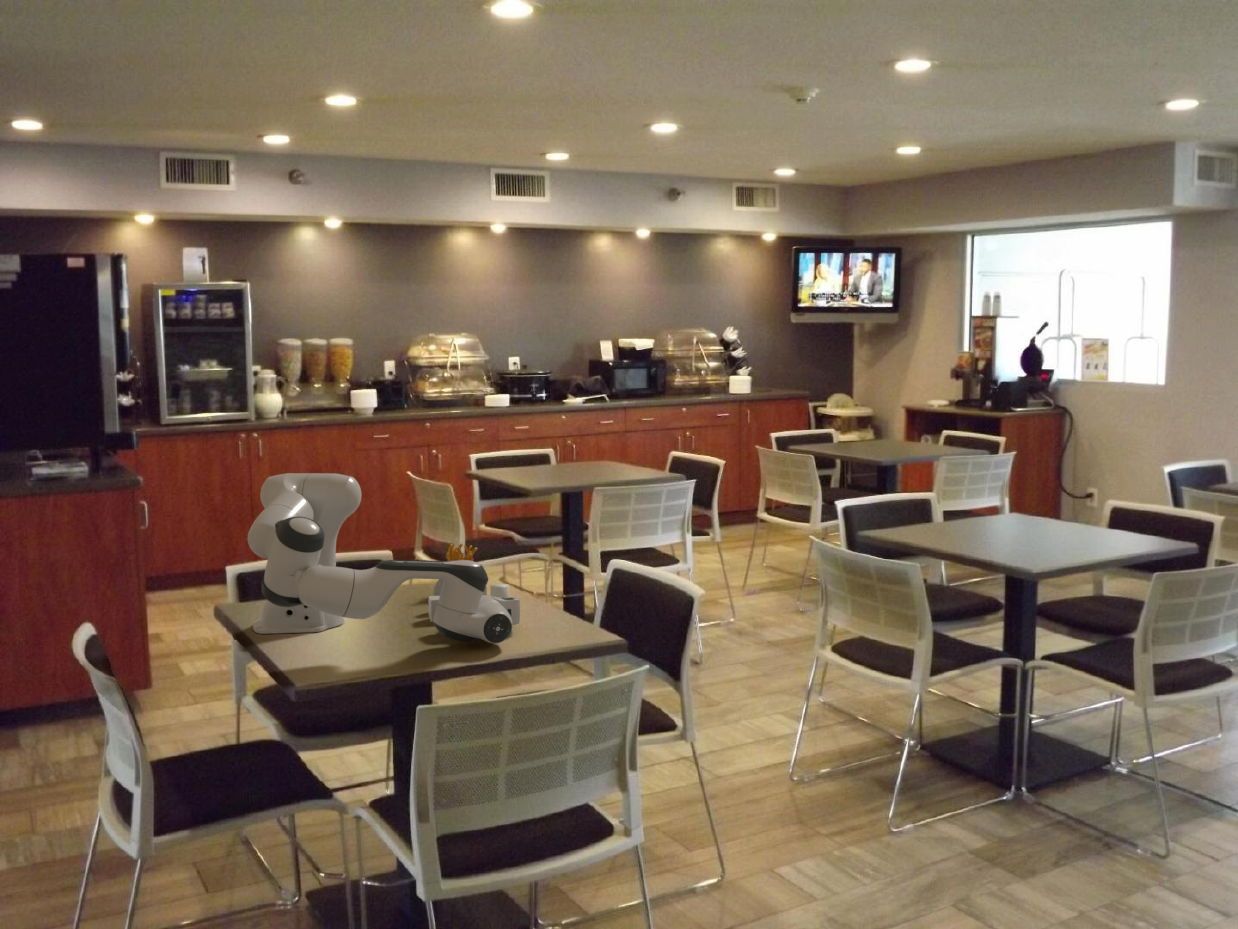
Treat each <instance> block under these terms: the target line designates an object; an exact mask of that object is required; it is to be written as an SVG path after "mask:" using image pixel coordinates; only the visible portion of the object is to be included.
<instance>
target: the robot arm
mask: <svg viewBox="0 0 1238 929" xmlns="http://www.w3.org/2000/svg"><path fill="white" fill-rule="evenodd" d="M259 493H260V502H261V504H262V506H263V508H264V509H263V510H262V511H261V512H260V513H259V514H258V515H257V516H256V518H255V519H254V521H253V523H252V524H251V527H250V529H249V530H248V532H247V544H248V546H249V549H250V550H251V552H252V553H254V555H257V556H258V557H260V558H262V559H267V561H266V565H265V570H264V575H263V576H262V578H261V593H262V596H264V598H265V599H266V600H265V602H264V604H263V607H262V610H261V616H260V618H259V619H256V620H254V622H253V624H252V630H253V631H254V632H255V633H257V634H263V635H264V634H265V635H266V634H267V635H268V634H269V635H270V634H292V633H294V634H296V633H297V634H299V633H300V634H301V633H319V632H322V631H326V630H328V629H332V628H335V627H339V626H341V625H343V624H344V623H345V619H344V618H347V619H352V620H355V619H356V620H366V619H369V618H371V617H373V616H375V615H376V614H378V613H379V612H380V611H381V610H382V609H383V608H384V607H385V606H386V605H387V603H388V602H389V600H390V599H391V598H392V596H393V595H394V594H395V592H396V591H397V590H398V589H399V587H400V586H401V585H403V583H405V582H406V581H409V580H414V579H415V580H417V579H419V580H439V579H443V587H442V590H441V594H440V598H439V602H438V604H437V608H436V612H435V616H434V620H433V623H432V624H433V625H434V627H435V629H436V630H437V631H438V633H440V635H442V636H443V637H445V638H447V639H449V640H452V641H456V642H461V643H471V642H475V641H477V640H478V639H480V640H483V641H485V642H486V643H490V644H497V645H498V644H501V643H503V642H504V641H507V639H508V638H509V637H510V636H511V634H512V631H513V626H514V625H519V624H520V621H521V620H520V619H521V602H520V601H521V600H520V598H519V597H518V596H510V597H507V598H500V597H494V596H493V597H492V596H491V595H488V594H487V595H483V592H484V591H485V588H486V587H487V585H488V581H489V576H488V574H487V572H486V570H485V568H484V566H483V565H482V564H481V563H479V562H476V561H470V560H458V561H448V560H427V559H426V560H422V559H389V560H388V559H387V560H386V559H385V560H381V561H379V562H378V563H377V564H376V566H373V567H371V568H367V569H355V568H349V567H342V566H337V558H336V557H337V556H336V555H337V554H336V553H337V541H338V540H337V539H338V534H339V531H340V529H341V527H342V525H343V523H344V522H345V521H346V520H347V518H349V517H350V516H351V515H352V514H354V513H355V512H356V511H357V510H358V508H359V506H360V504H361V502H362V489H361V486H360V484H359V482H358V481H357V480H356V478H355V477H353V476H350V475H346V474H341V473H334V472H332V473H326V472H325V473H323V472H322V473H321V472H319V473H317V472H316V473H315V472H314V473H312V472H310V473H309V472H308V473H307V472H305V473H303V472H298V473H297V472H296V473H295V472H294V473H293V472H289V473H288V472H286V473H279V474H276V475H270V476H268V477H267V478H266V479H265V481H264V482H263V484H262V485H261V488H260V492H259Z"/></svg>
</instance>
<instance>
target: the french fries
mask: <svg viewBox="0 0 1238 929" xmlns="http://www.w3.org/2000/svg"><path fill="white" fill-rule="evenodd" d="M462 547H464V549H465V551H466V554H465V553H464V552H463V551H462V550H461V549H462ZM471 549H472V550H471ZM477 551H478V547H474V548H473V545H472V544H471V545H469V547H467V545H464V543H463V542H461V543H460V544H459V545H458V547H455V546H454V544H453V543H451V544H449V546H448V550H447V551H446V554H445V559H446V561H458V560H470V561H474V560H475V559H474V554H475V553H476V552H477ZM474 562H475V561H474Z"/></svg>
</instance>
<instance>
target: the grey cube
mask: <svg viewBox="0 0 1238 929" xmlns="http://www.w3.org/2000/svg"><path fill="white" fill-rule="evenodd" d="M427 598H428V604H427V605H428V619H430V620H431V621H430V620H429V621H430V623H431V622H433V620H434V616H435V612H436V608H437V604H438V602H439V598H440V596H434V595H429V596H428V597H427Z"/></svg>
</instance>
